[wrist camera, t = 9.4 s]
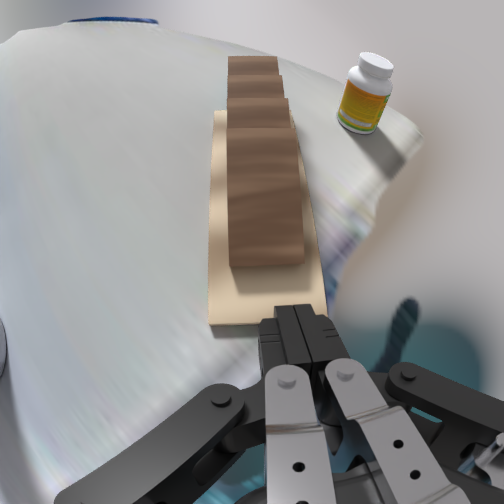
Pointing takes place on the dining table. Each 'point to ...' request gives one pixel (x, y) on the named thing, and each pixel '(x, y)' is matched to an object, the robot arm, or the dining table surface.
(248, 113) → the domino
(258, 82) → the domino
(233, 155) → the domino
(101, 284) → the dining table surface
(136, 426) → the dining table surface
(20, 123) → the dining table surface
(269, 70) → the domino
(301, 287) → the domino board
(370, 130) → the supplement bottle
